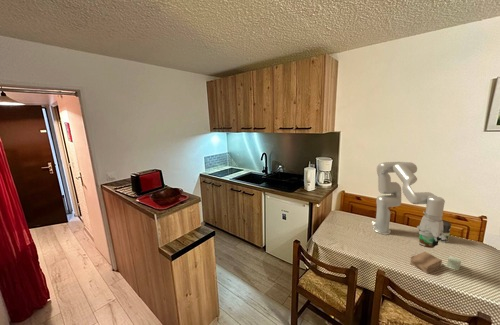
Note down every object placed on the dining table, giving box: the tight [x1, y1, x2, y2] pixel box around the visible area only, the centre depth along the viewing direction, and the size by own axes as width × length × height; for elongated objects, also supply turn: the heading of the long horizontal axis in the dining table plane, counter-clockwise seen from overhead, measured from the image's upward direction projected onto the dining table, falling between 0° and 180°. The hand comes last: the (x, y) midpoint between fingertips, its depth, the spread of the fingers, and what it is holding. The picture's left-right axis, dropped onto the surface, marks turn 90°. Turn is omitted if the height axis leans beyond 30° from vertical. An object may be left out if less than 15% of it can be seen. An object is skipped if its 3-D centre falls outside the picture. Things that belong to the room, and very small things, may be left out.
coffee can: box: [438, 219, 452, 244], centre depth 149 cm, size 10×10×14 cm
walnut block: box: [410, 251, 443, 274], centre depth 124 cm, size 9×14×5 cm, turn 109°
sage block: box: [446, 255, 462, 271], centre depth 122 cm, size 5×5×5 cm
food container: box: [418, 231, 436, 249], centre depth 120 cm, size 12×6×10 cm, turn 106°
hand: (429, 242), depth 121 cm, fingers closed on food container, 5 cm apart
